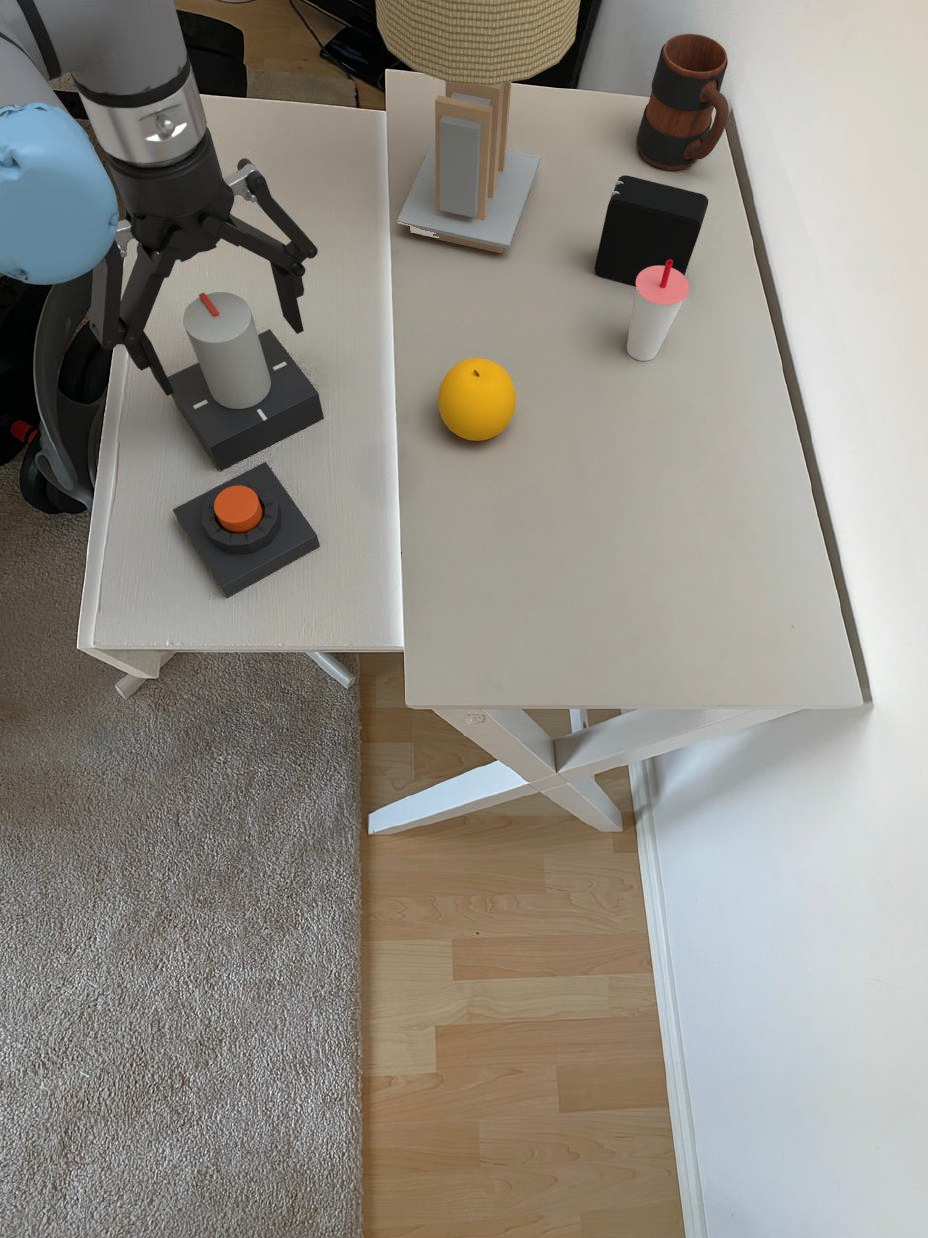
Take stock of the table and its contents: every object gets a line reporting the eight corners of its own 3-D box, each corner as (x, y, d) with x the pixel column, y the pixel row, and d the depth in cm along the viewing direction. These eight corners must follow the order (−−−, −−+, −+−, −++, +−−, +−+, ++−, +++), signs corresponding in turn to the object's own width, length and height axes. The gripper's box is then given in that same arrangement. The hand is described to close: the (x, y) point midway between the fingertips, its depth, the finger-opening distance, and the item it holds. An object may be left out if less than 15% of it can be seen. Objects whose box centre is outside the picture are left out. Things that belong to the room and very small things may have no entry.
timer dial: (282, 392, 78) (262, 321, 70) (227, 418, 77) (201, 349, 68) (253, 352, 80) (230, 279, 72) (199, 378, 79) (170, 306, 70)
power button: (231, 540, 72) (226, 530, 70) (211, 508, 73) (205, 498, 71) (270, 519, 73) (266, 509, 71) (249, 488, 74) (245, 478, 72)
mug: (674, 197, 97) (703, 102, 86) (622, 139, 101) (643, 41, 91) (731, 176, 99) (766, 80, 88) (677, 120, 103) (704, 22, 92)
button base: (227, 598, 73) (215, 578, 70) (178, 521, 76) (165, 498, 73) (320, 546, 76) (314, 524, 72) (270, 474, 79) (261, 449, 75)
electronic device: (676, 297, 90) (703, 221, 81) (592, 275, 91) (609, 197, 82) (684, 272, 92) (711, 195, 83) (601, 250, 93) (619, 172, 84)
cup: (634, 374, 85) (662, 286, 74) (608, 340, 87) (632, 249, 76) (675, 357, 87) (709, 268, 76) (649, 324, 88) (678, 232, 77)
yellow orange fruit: (504, 460, 80) (510, 412, 74) (429, 443, 81) (428, 394, 74) (520, 399, 84) (527, 348, 77) (448, 384, 84) (449, 332, 77)
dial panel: (220, 472, 79) (209, 446, 75) (175, 404, 82) (162, 376, 78) (324, 419, 82) (318, 392, 78) (276, 355, 85) (269, 326, 81)
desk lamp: (416, 138, 100) (404, -255, 68) (566, 169, 99) (626, -219, 66) (368, 243, 93) (328, -145, 60) (529, 279, 91) (577, -101, 59)
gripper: (2, 236, 51) (124, 440, 70) (336, 103, 57) (364, 323, 76) (-40, 170, 53) (89, 384, 72) (285, 49, 59) (324, 276, 79)
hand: (230, 353), depth 74 cm, fingers open, 13 cm apart
